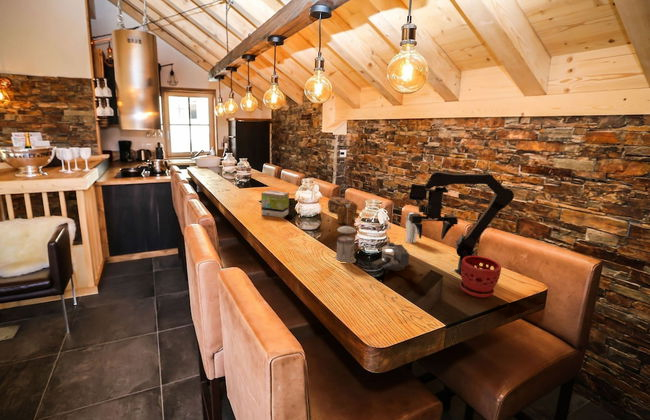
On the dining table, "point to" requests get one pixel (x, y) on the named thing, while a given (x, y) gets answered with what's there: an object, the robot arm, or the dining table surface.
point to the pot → (387, 263)
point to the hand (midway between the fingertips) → (431, 238)
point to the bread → (337, 203)
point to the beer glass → (410, 230)
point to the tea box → (275, 203)
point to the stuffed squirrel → (351, 214)
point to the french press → (345, 244)
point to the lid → (397, 253)
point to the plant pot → (479, 276)
